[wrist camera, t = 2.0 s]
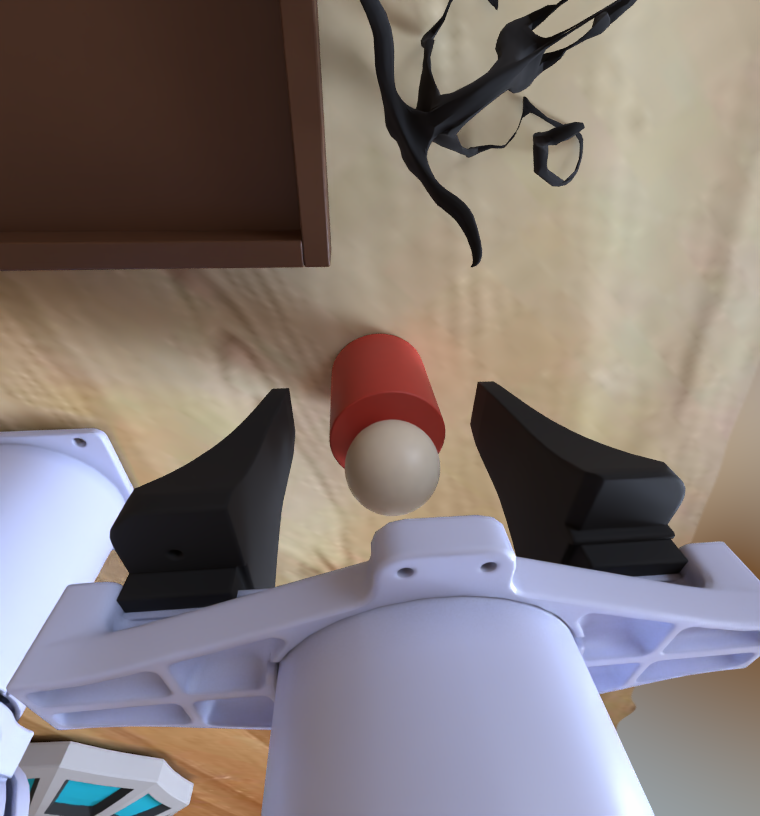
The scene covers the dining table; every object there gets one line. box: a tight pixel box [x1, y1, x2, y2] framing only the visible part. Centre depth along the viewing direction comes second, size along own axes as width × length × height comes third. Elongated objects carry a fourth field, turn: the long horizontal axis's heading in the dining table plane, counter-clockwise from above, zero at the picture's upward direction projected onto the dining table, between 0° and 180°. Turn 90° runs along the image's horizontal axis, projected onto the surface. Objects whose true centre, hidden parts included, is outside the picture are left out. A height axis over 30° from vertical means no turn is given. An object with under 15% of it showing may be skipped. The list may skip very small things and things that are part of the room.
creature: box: [360, 0, 637, 267], centre depth 9 cm, size 8×5×8 cm
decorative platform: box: [18, 741, 193, 816], centre depth 41 cm, size 31×29×5 cm
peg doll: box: [330, 334, 445, 516], centre depth 14 cm, size 4×4×7 cm
